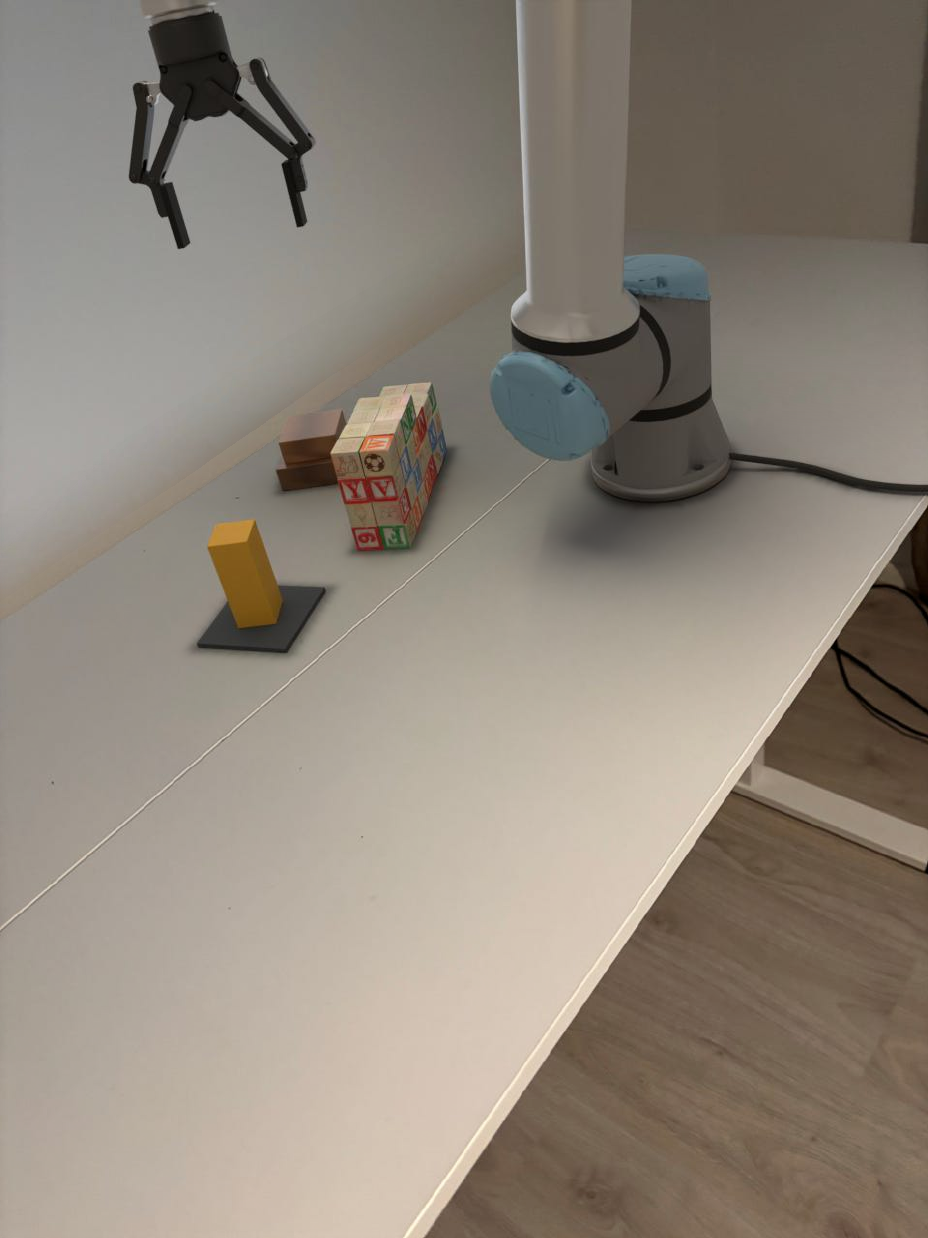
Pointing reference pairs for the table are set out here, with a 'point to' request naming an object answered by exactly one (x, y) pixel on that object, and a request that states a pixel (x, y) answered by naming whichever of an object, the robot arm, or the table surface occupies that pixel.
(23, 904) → the table surface
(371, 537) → the stack of blocks
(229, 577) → the bar
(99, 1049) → the table surface
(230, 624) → the mat
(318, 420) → the dark wooden step block
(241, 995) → the table surface
